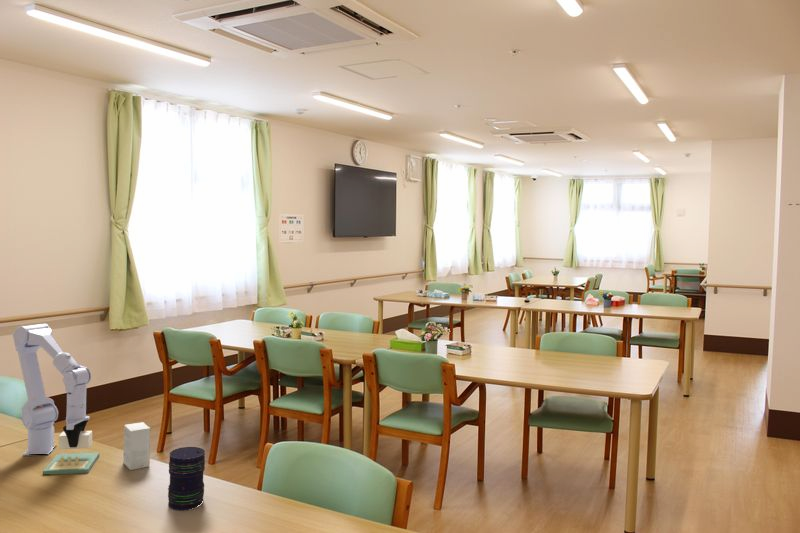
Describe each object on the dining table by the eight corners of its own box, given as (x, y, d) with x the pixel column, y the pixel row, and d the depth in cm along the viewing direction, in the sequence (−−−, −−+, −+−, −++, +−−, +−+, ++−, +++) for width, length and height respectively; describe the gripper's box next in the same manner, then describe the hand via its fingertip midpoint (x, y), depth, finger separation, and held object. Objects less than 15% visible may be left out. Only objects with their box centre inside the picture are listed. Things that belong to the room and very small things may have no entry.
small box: (149, 466, 202) (150, 428, 201) (129, 470, 198) (130, 431, 197) (142, 459, 208) (143, 421, 208) (122, 462, 204) (123, 424, 204)
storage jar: (165, 512, 171) (167, 459, 170) (169, 497, 180) (170, 447, 179) (203, 509, 173) (204, 457, 172) (204, 494, 183) (206, 445, 182)
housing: (62, 444, 205) (63, 431, 205) (92, 443, 207) (92, 430, 207) (58, 449, 200) (58, 435, 200) (88, 448, 202) (88, 435, 202)
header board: (57, 457, 206) (57, 446, 206) (99, 455, 209) (99, 445, 209) (42, 474, 192) (42, 462, 191) (87, 472, 195) (88, 461, 194)
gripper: (83, 410, 197) (82, 451, 197) (95, 398, 211) (94, 436, 212) (59, 410, 195) (58, 452, 196) (72, 398, 209) (71, 437, 210)
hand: (75, 444), depth 204 cm, fingers closed on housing, 5 cm apart
